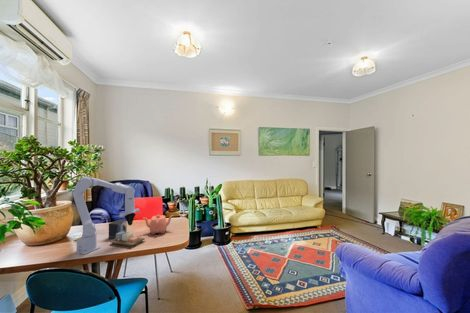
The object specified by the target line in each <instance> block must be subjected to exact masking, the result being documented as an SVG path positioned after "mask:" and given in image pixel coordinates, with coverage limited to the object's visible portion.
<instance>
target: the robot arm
mask: <svg viewBox="0 0 470 313" xmlns="http://www.w3.org/2000/svg"><path fill="white" fill-rule="evenodd" d="M95 186H97V187H98V186H99V187H105V188H107V189H111V190H112V192H115V193H119V194H123V195H124V196H125V197H124V211H123V212H121V213H119V218H123V217H124V218H125V220H127V225H128V226H133V222H134V219H135V216H136V214H137V213H138V212H140V208H136V207H135V193H136V189H135V188H134V187H132V186H131V185H128V184H123V183H122V182H115V183H112V182H109V181H105V180H103V179H100V178H96V177H89V176H83V177H81V178H80V179H79V180H78V181H77V183H76V184H75V187H74V189H73V192H72V196H73V200H74V202H75V206H76V208H77V211H78V215H79V219H80V220H81V224H82V235H81V236H80V238H77V240H76V251H75V253H77V254H80V255H81V254H82V255H86V254H89V253H91V252H94V251H96V250H99V249H100V248H101V247H100V246H97V244H98V243H97V228H96V224H95V223H94V222H93V221H92V218H91V216H90V213H89V210H88V207H87V203H86V201H85V197H84V193H85V192H86V191H87V190H88V189H89V188H90V187H95Z"/></svg>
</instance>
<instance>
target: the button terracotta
mask: <svg viewBox="0 0 470 313" xmlns="http://www.w3.org/2000/svg"><path fill="white" fill-rule="evenodd" d="M139 237H140V236H134V237H132V238H129V239H128V242H132V243H134V242H136V241H139ZM137 244H138V243H137ZM135 245H136V244H135Z"/></svg>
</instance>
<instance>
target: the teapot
mask: <svg viewBox="0 0 470 313" xmlns="http://www.w3.org/2000/svg"><path fill="white" fill-rule="evenodd" d="M172 217H174V214H172V215H170V216H169V217H168V220H167V219H166V215H163V214H162V215H161V214H156V215H153V216H152V217H151V219H150V222H149V220H148V218H147V217H143V216H142V219H144V221H145V224H146V227H147V228H149V232H150V234H151V236H153V235H156V233H157V234H159V233H160V234H161V233H163V234H165V232H166V230H167V229H168V226H169V225H170V224H171V220H172Z"/></svg>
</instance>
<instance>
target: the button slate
mask: <svg viewBox="0 0 470 313" xmlns="http://www.w3.org/2000/svg"><path fill="white" fill-rule="evenodd" d="M125 233H127V232H122V231H121V232H119V233H116V239H118V240H122V235H123V234H125Z"/></svg>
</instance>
